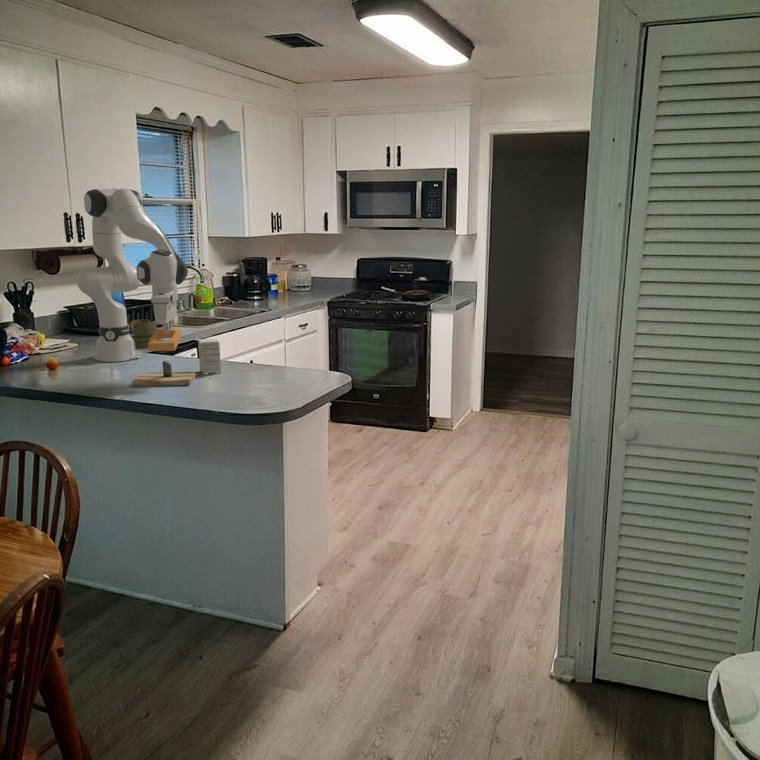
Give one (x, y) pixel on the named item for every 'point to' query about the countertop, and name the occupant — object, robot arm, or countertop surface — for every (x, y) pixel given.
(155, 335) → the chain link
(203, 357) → the supplement box
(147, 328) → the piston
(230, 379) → the countertop surface
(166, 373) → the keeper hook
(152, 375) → the wooden board
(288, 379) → the countertop surface
